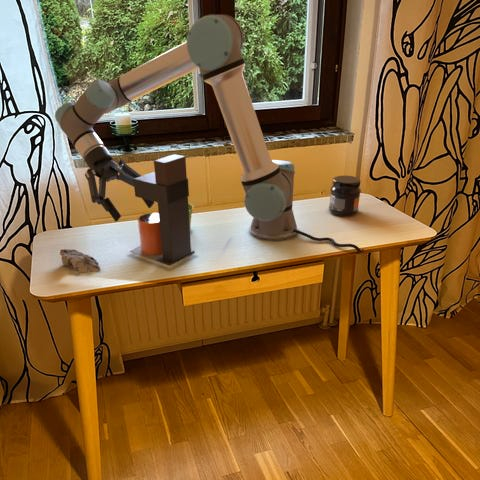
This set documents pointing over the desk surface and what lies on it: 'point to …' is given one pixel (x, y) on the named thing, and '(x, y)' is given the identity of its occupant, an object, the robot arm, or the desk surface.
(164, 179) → the coffee maker
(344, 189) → the supplement container
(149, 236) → the cup
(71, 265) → the mineral rock
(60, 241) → the desk surface
